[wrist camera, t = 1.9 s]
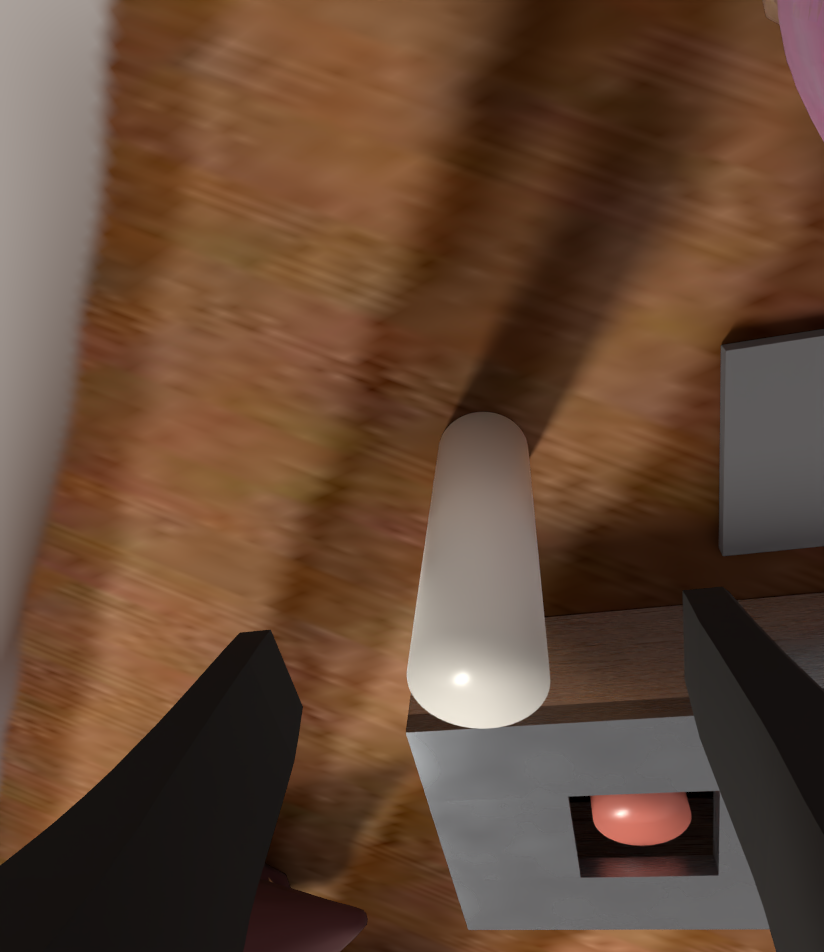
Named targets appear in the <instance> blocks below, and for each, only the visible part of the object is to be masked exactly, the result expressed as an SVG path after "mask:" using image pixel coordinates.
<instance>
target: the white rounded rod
mask: <svg viewBox="0 0 824 952" xmlns="http://www.w3.org/2000/svg"><path fill="white" fill-rule="evenodd" d="M407 682H408V686H409V689H410V691H411V693H412V695H413V696H414V698H415V699H416V701H417V702H418V703H419V704H420V705H421V706H422V707H423V708H424V709H425V710H427V711H428V712H429V713H430V714H432V715H434V716H435V717H437V718H439V719H441V720H443V721H446V722H448V723H451V724H454V725H458V726H462V727H468V728H478V729H488V728H498V727H503V726H507V725H511V724H514V723H516V722H519V721H521V720H523V719H525V718H527V717H528V716H530V715H531V714H532V713H534V712H535V711H536V710H537V709H538V708H539V707H540V706H541V705H542V703H543V702H544V701H545V699H546V697H547V695H548V692H549V689H550V670H549V660H548V649H547V639H546V628H545V618H544V607H543V597H542V587H541V576H540V566H539V555H538V545H537V534H536V524H535V513H534V503H533V493H532V482H531V472H530V461H529V451H528V444H527V440H526V437H525V435H524V433H523V432H522V430H521V429H520V428H519V426H517V425H516V424H515V423H514V422H513V421H512V420H510V419H509V418H507V417H505V416H502V415H500V414H497V413H492V412H474V413H470V414H467V415H464V416H462V417H460V418H458V419H457V420H455V421H454V422H452V423H451V424H450V425H449V426H448V427H447V429H446V430H445V431H444V433H443V435H442V437H441V439H440V443H439V448H438V456H437V463H436V470H435V477H434V484H433V491H432V498H431V505H430V512H429V519H428V526H427V533H426V540H425V547H424V554H423V561H422V569H421V576H420V583H419V590H418V597H417V604H416V611H415V618H414V625H413V632H412V639H411V646H410V653H409V660H408V667H407Z"/></svg>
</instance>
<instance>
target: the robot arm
mask: <svg viewBox="0 0 824 952" xmlns="http://www.w3.org/2000/svg"><path fill="white" fill-rule="evenodd" d="M683 634H684V680H685V683H686V687H687V691H688V695H689V699H690V703H691V707H692V711H693V715H694V718H695V722H696V726H697V730H698V733H699V737H700V740H701V743H702V745H703V748H704V751H705V753H706V756H707V759H708V761H709V764H710V767H711V769H712V772H713V774H714V777H715V780H716V782H717V785H718V787H719V790H720V793H721V795H722V798H723V800H724V803H725V806H726V808H727V811H728V813H729V816H730V818H731V821H732V824H733V826H734V829H735V831H736V834H737V837H738V839H739V842H740V844H741V847H742V850H743V852H744V855H745V857H746V860H747V862H748V865H749V868H750V870H751V873H752V875H753V878H754V881H755V884H756V887H757V890H758V893H759V896H760V899H761V902H762V905H763V907H764V911H765V914H766V918H767V921H768V925H769V928H770V932H771V935H772V938H773V942H774V945H775V949H776V952H824V689H823V688H821V687H820V686H819V685H818V684H817V683H816V682H815V681H814V680H813V679H812V678H811V677H810V676H809V675H808V674H807V673H806V672H805V671H804V670H803V669H802V668H801V667H800V666H798V665H797V664H796V663H795V662H794V661H793V660H792V659H791V658H790V657H789V656H788V655H787V654H786V653H785V652H784V651H783V650H782V649H781V648H780V647H779V646H778V645H777V644H776V643H775V642H774V640H773V639H772V638H771V637H770V636H769V635H768V634H767V633H766V632H765V631H764V630H763V629H762V628H761V627H760V626H759V625H758V624H757V623H756V621H755V620H754V619H753V618H752V617H751V616H750V615H749V614H748V613H747V612H746V610H745V609H744V608H743V607H742V606H741V605H740V604H739V603H738V601H737V600H736V599H735V598H734V597H733V596H732V595H731V593H730V592H729V591H727V590H726V589H725V588H723V587H714V588H703V589H693V590H683ZM302 709H303V706H302V704H301V702H300V699H299V697H298V694H297V692H296V689H295V687H294V685H293V682H292V680H291V677H290V675H289V673H288V670H287V668H286V665H285V663H284V661H283V658H282V656H281V653H280V651H279V649H278V646H277V644H276V641H275V639H274V637H273V634H272V632H271V630H263V631H253V632H242V633H239V634H238V635H237V636H236V637H235V639H234V640H233V641H232V642H231V643H230V644H229V645H228V646H227V647H226V648H225V649H224V650H223V651H222V653H221V654H220V655H219V656H218V657H217V658H216V659H215V660H214V662H213V663H212V664H211V665H210V666H209V667H208V668H207V669H206V671H205V672H204V673H203V674H202V675H201V676H200V677H199V678H198V680H197V681H196V682H195V683H194V684H193V685H192V686H191V687H190V689H189V690H188V691H187V692H186V693H185V694H184V695H183V696H182V697H181V698H180V700H179V701H178V702H177V703H176V704H175V705H174V706H173V707H172V708H171V710H170V711H169V712H168V713H167V714H166V715H165V716H164V717H163V718H162V719H161V720H160V722H159V723H158V724H157V725H156V726H155V727H154V728H153V729H152V730H151V731H150V732H149V733H148V734H147V735H146V736H145V737H144V738H143V739H142V740H141V741H140V742H139V743H138V744H137V745H136V746H135V747H134V748H133V749H132V750H131V751H130V752H129V753H128V754H127V755H126V756H125V757H124V758H123V759H122V761H121V762H120V763H119V764H118V765H117V766H116V767H115V768H114V769H113V770H112V771H111V772H110V773H108V774H107V775H106V776H105V777H104V778H103V779H102V780H101V781H100V782H99V783H98V784H97V785H96V786H95V787H94V788H93V789H91V790H90V791H89V792H88V793H87V794H86V795H85V796H84V797H83V798H82V799H80V800H79V801H78V802H77V803H76V804H75V805H74V806H72V807H71V808H70V809H69V810H68V811H67V812H66V813H65V814H63V815H62V816H61V817H60V818H59V819H58V820H57V821H55V822H54V823H53V824H52V825H51V826H49V827H48V828H47V829H46V830H45V831H43V832H42V833H41V834H40V835H38V836H37V837H36V838H34V839H33V840H32V841H31V842H29V843H28V844H27V845H26V846H24V847H23V848H22V849H21V850H19V851H18V852H17V853H16V854H14V855H13V856H12V857H11V858H9V859H8V860H7V861H6V862H4V863H3V864H2V865H0V952H243V951H244V946H245V941H246V935H247V930H248V925H249V920H250V915H251V911H252V907H253V903H254V899H255V895H256V891H257V887H258V884H259V880H260V877H261V874H262V870H263V867H264V863H265V860H266V857H267V853H268V850H269V846H270V843H271V840H272V836H273V833H274V830H275V826H276V823H277V819H278V816H279V813H280V809H281V806H282V803H283V799H284V796H285V792H286V789H287V785H288V782H289V778H290V775H291V771H292V767H293V764H294V759H295V754H296V748H297V742H298V736H299V729H300V722H301V716H302Z"/></svg>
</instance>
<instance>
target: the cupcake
mask: <svg viewBox="0 0 824 952" xmlns="http://www.w3.org/2000/svg"><path fill="white" fill-rule="evenodd" d="M762 1H763V5H764V10H765V15H766V17H767V18H768V19H770V20H771V21H773V22H776V23H778V24H779V25H780V29H781V34H782V40H783V45H784V50H785V55H786V59H787V63H788V65H789V67H790V70H791V73H792V76H793V79H794V82H795V85H796V88H797V90H798V92H799V94H800V96H801V99H802V101H803V103H804V105H805V107H806V109H807V111H808V113H809V115H810V117H811V120H812V121H813V123H814V125H815V127H816V129H817V130H818V132H819V134H820V136H821V138H822V139H823V141H824V0H762Z"/></svg>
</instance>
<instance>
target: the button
mask: <svg viewBox="0 0 824 952" xmlns="http://www.w3.org/2000/svg"><path fill="white" fill-rule="evenodd" d="M590 800H591V808H592V815H593V821H594V824H595V826H596V828H597V829H598V830H599V831H600V832H601V833H602V834H603V835H604V836H606V837H608V838H609V839H612V840H614V841H617V842H619V843H623V844H628V845H637V846H645V845H655V844H660V843H664V842H667V841H670V840H672V839H674V838H676V837H678V836H679V835H681V834H682V833H683V832H684V831H685V830H686V829H687V828H688V826H689V824H690V822H691V810H690V806H689V803H688V799H687V795H686V792H672V793H646V794H620V795H594V796H590Z"/></svg>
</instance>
